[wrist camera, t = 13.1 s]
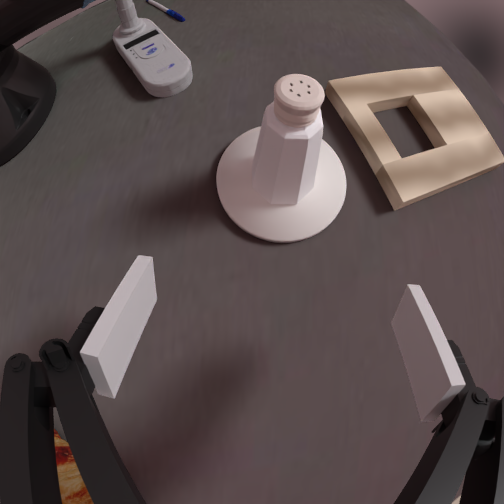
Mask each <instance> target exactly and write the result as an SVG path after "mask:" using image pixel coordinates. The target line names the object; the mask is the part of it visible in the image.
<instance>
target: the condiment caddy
mask: <svg viewBox="0 0 504 504" xmlns="http://www.w3.org/2000/svg"><path fill="white" fill-rule="evenodd" d="M325 94H326V96H327V97H328V99H329V100H330V102H331V103H332V105H333V106H334V108H335V109H336V111H337V112H338V114H339V115H340V117H341V118H342V120H343V122H344V123H345V125H346V126H347V128H348V130H349V131H350V133H351V134H352V136H353V138H354V139H355V141H356V143H357V144H358V146H359V148H360V149H361V151H362V153H363V154H364V156H365V158H366V159H367V161H368V163H369V165H370V166H371V168H372V170H373V172H374V174H375V175H376V177H377V179H378V181H379V183H380V185H381V186H382V188H383V190H384V192H385V194H386V196H387V198H388V200H389V202H390V203H391V205H392V207H393V209H394V211H395V210H397V209H400V208H402V207H405V206H407V205H410V204H412V203H414V202H417V201H419V200H422V199H424V198H427V197H429V196H432V195H434V194H436V193H439V192H441V191H444V190H446V189H448V188H451V187H453V186H456V185H458V184H460V183H463V182H465V181H468V180H470V179H472V178H475V177H477V176H480V175H482V174H484V173H487V172H489V171H491V170H494V169H496V168H498V167H499V166H500V165H501V164H503V163H504V157H503V155H502V153H501V151H500V150H499V148H498V146H497V145H496V143H495V141H494V140H493V138H492V136H491V135H490V133H489V132H488V130H487V129H486V127H485V125H484V124H483V122H482V121H481V119H480V118H479V116H478V115H477V113H476V112H475V111H474V109H473V108H472V106H471V105H470V103H469V102H468V101H467V99H466V98H465V97H464V95H463V94H462V93H461V91H460V90H459V89H458V87H457V86H456V85H455V83H454V82H453V81H452V80H451V78H450V77H449V76H448V75H447V73H446V72H445V71H444V70H443V69H442V67H428V68H416V69H405V70H396V71H387V72H379V73H372V74H365V75H359V76H352V77H346V78H341V79H335V80H330V81H328V84H327V87H326V91H325ZM404 106H407V107H408V108H409V110H410V111H411V113H412V114H413V116H414V117H415V118H416V120H417V121H418V123H419V124H420V126H421V127H422V129H423V130H424V132H425V134H426V135H427V137H428V138H429V140H430V141H431V143H432V145H433V146H434V148H435V149H432V150H428V151H425V152H422V153H418V154H415V155H412V156H409V157H405V158H401V157H400V155H399V153H398V152H397V150H396V148H395V147H394V145H393V143H392V142H391V140H390V139H389V137H388V135H387V134H386V132H385V131H384V129H383V128H382V126H381V125H380V123H379V121H378V120H377V118H376V117H375V116H374V114H373V113H375V112H379V111H384V110H389V109H394V108H399V107H404Z"/></svg>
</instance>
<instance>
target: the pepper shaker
mask: <svg viewBox="0 0 504 504" xmlns="http://www.w3.org/2000/svg"><path fill="white" fill-rule="evenodd" d="M274 96H275V97H274V102H272V103H271V104H270V105H268V106H267V107H266V109H265V112H264V116H263V120H262V125H261V129H260V133H259V138H258V142H257V146H256V150H255V155H254V159H253V164H252V188H253V189H254V190H255V191H257V192H258V193H259V194H260V195H261V196H262V197H263V198H264V199H265V200H267V201H268V202H269V203H270V204H292V205H297V204H298V203H299V202H300V201H301V200H302V199H303V198H304V197H305V196H306V195H307V194H308V193H309V192H310V191H311V190H312V189H313V187H314V182H315V176H316V170H317V165H318V159H319V153H320V147H321V141H322V135H323V122H322V115H321V109H320V106H321V104H322V103H323V101H324V97H325V94H324V90H323V88H322V86H321V85H320V84H319V83H318V82H317V81H316V80H314V79H313V78H311V77H309V76H306V75H302V74H290V75H287V76H284V77H282V78H281V79H279V80H278V81H277V82H276V83H275V86H274Z"/></svg>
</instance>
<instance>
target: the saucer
mask: <svg viewBox="0 0 504 504" xmlns="http://www.w3.org/2000/svg"><path fill="white" fill-rule="evenodd" d="M260 129H261V127H257V128H254V129H251V130H249V131H247V132H245V133H243V134H242V135H240V136H239V137H237V138H236V139H235V140H234V141H233V142H232V143H231V144H230V145H229V146H228V147H227V149H226V150H225V152H224V153H223V155H222V157H221V159H220V161H219V165H218V168H217V175H216V184H217V190H218V195H219V198H220V201H221V204H222V206H223V208H224V210H225V212H226V213H227V215H228V216H229V217H230V219H231V220H232V221H233V222H234V223H235V224H236V225H237V226H238V227H240V228H241V229H242V230H244V231H245V232H247V233H248V234H250V235H252V236H254V237H256V238H259V239H262V240H265V241H270V242H276V243H293V242H298V241H302V240H306V239H309V238H311V237H313V236H315V235H317V234H318V233H320V232H321V231H323V230H324V229H325V228H326V227H328V226H329V225H330V224H331V222H332V221H333V220H334V219H335V217H336V216H337V214H338V213H339V211H340V210H341V207H342V205H343V203H344V199H345V195H346V177H345V172H344V169H343V166H342V164H341V161H340V159H339V158H338V156H337V155H336V153H335V152H334V150H333V149H332V148H331V147H330V146H329V145H328V144H327V143H326V142H325V141H324V140H322V141H321V147H320V153H319V159H318V165H317V170H316V176H315V182H314V187H313V189H312V190H311V191H310V192H309V193H308V194H307V195H306V196H305V197H304V198H303V199H302V200H301V201H300V202H299V203H298V204H297V205H292V204H270V203H269V202H268V201H267V200H265V199H264V198H263V197H262V196H261V195H260V194H259V193H258V192H257V191H255V190H254V189H253V188H252V164H253V159H254V155H255V150H256V146H257V142H258V138H259V133H260Z"/></svg>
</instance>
